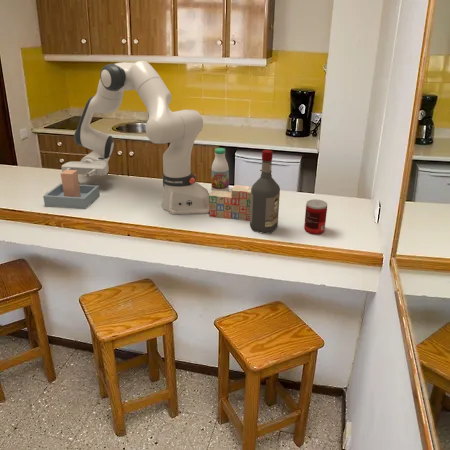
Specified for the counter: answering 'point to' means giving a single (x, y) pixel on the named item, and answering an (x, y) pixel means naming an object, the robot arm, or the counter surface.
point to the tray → (59, 200)
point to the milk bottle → (220, 171)
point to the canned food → (315, 216)
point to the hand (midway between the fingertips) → (77, 174)
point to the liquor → (265, 198)
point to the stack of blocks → (231, 203)
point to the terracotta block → (70, 183)
